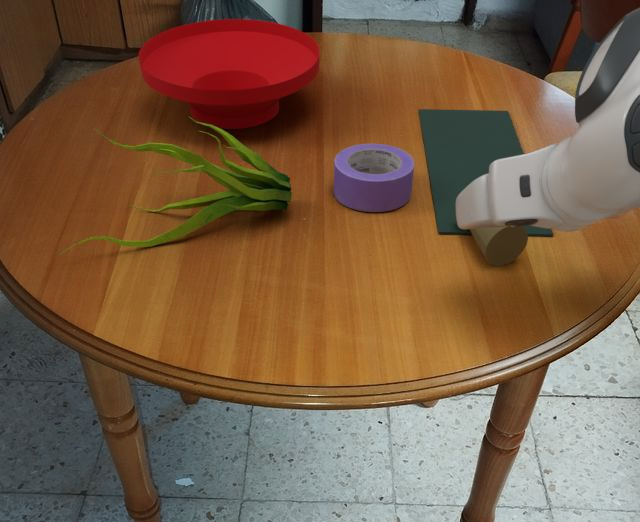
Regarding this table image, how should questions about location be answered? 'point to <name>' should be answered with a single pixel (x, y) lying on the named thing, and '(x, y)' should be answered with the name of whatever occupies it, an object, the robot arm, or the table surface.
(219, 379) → the table surface
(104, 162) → the table surface
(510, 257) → the olive pawn piece
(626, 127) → the robot arm
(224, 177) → the decorative plant
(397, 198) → the tape roll
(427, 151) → the mat
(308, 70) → the bowl
